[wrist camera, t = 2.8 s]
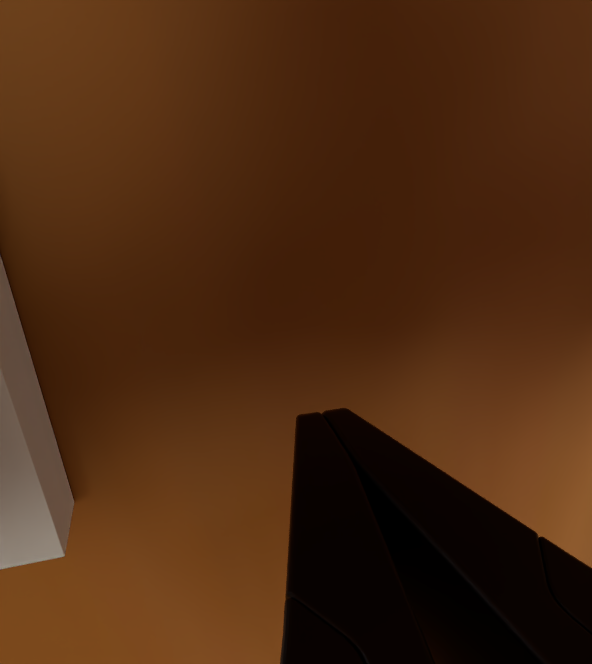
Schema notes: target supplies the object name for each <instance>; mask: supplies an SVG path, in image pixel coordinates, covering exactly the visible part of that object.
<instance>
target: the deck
mask: <svg viewBox="0 0 592 664" xmlns="http://www.w3.org/2000/svg"><path fill="white" fill-rule="evenodd" d="M73 507H74V499H73V496H72V492H71V489H70V486H69V482H68V479H67V476H66V472H65V469H64V466H63V462H62V459H61V456H60V452H59V449H58V446H57V442H56V439H55V436H54V432H53V429H52V426H51V422H50V419H49V416H48V412H47V409H46V406H45V402H44V399H43V396H42V392H41V389H40V386H39V382H38V379H37V376H36V372H35V369H34V365H33V362H32V359H31V355H30V352H29V349H28V345H27V342H26V339H25V335H24V332H23V329H22V325H21V322H20V319H19V315H18V312H17V309H16V305H15V302H14V299H13V295H12V292H11V289H10V285H9V282H8V279H7V275H6V272H5V269H4V265H3V262H2V259H1V255H0V569H5V568H10V567H15V566H20V565H25V564H30V563H35V562H39V561H44V560H49V559H54V558H59V557H64V556H65V552H66V546H67V541H68V535H69V530H70V524H71V518H72V513H73Z"/></svg>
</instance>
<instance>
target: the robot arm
mask: <svg viewBox="0 0 592 664" xmlns="http://www.w3.org/2000/svg"><path fill="white" fill-rule="evenodd" d="M280 664H592V568H591V567H589V566H588V565H586V564H585V563H583V562H581V561H580V560H578V559H577V558H575V557H573V556H572V555H570V554H569V553H567V552H566V551H564V550H563V549H561V548H560V547H558V546H557V545H555V544H553V543H552V542H550V541H549V540H547V539H546V538H544V537H539V538H538V534H537V533H536V532H535V531H533V530H532V529H530V528H529V527H527V526H526V525H524V524H523V523H521V522H520V521H518V520H517V519H515V518H513V517H512V516H510V515H509V514H507V513H506V512H504V511H503V510H501V509H500V508H498V507H497V506H495V505H494V504H492V503H491V502H489V501H488V500H486V499H484V498H483V497H481V496H480V495H478V494H477V493H475V492H474V491H472V490H471V489H469V488H468V487H466V486H465V485H463V484H462V483H460V482H459V481H457V480H456V479H454V478H452V477H451V476H449V475H448V474H446V473H445V472H443V471H442V470H440V469H439V468H437V467H436V466H434V465H433V464H431V463H430V462H428V461H427V460H425V459H423V458H422V457H420V456H419V455H417V454H416V453H414V452H413V451H411V450H410V449H408V448H407V447H405V446H404V445H402V444H401V443H399V442H398V441H396V440H395V439H393V438H391V437H390V436H388V435H387V434H385V433H384V432H382V431H381V430H379V429H378V428H376V427H375V426H373V425H372V424H370V423H369V422H367V421H366V420H364V419H362V418H361V417H359V416H358V415H356V414H355V413H353V412H352V411H350V410H349V409H346V408H340V409H334V410H327V411H324V412H323V413H322V414H321V413H319V412H314V413H308V414H301V415H298V416H297V418H296V429H295V446H294V463H293V480H292V496H291V513H290V530H289V547H288V564H287V581H286V601H285V609H284V625H283V638H282V649H281V659H280Z"/></svg>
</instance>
